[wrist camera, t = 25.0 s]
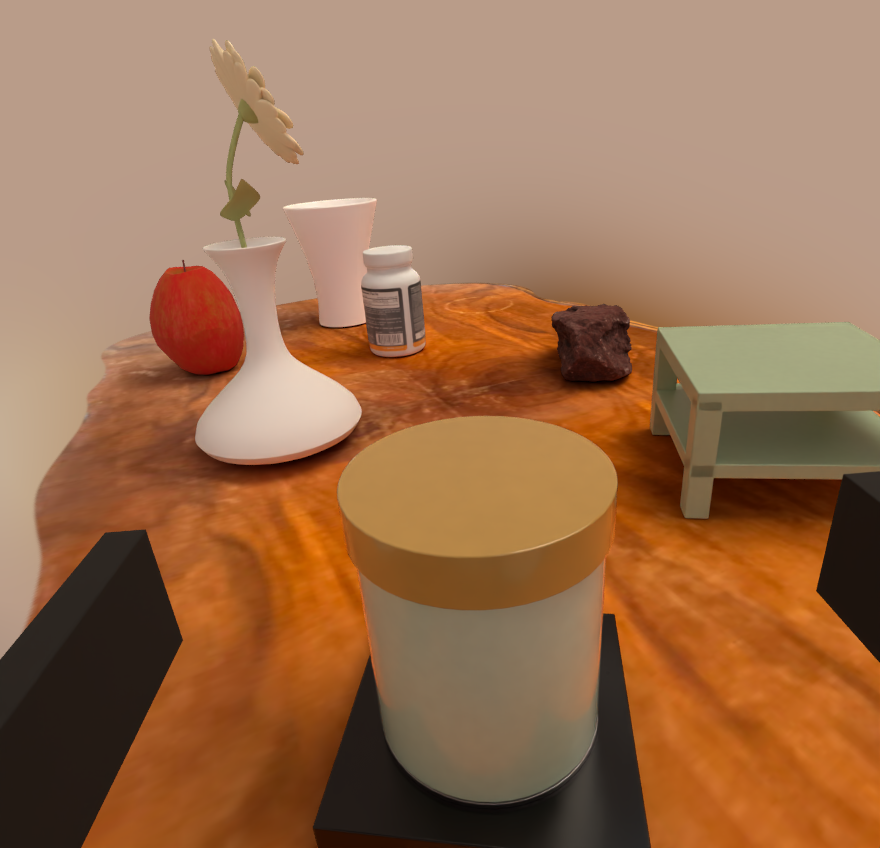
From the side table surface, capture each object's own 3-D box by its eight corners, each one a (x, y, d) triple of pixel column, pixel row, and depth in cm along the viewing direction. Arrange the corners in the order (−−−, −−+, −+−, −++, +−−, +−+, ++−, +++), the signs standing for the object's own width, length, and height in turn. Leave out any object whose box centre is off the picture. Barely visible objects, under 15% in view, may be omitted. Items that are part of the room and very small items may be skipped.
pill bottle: (403, 338, 65) (394, 242, 61) (437, 348, 61) (429, 246, 56) (359, 351, 62) (345, 251, 57) (391, 363, 57) (379, 256, 53)
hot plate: (649, 903, 16) (654, 862, 15) (320, 863, 17) (310, 823, 16) (612, 644, 24) (614, 609, 23) (390, 632, 25) (385, 598, 25)
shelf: (923, 523, 29) (964, 389, 26) (684, 518, 31) (698, 392, 28) (826, 427, 39) (849, 321, 36) (649, 427, 41) (657, 327, 38)
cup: (353, 306, 80) (338, 198, 74) (407, 316, 73) (396, 197, 68) (286, 325, 73) (264, 208, 68) (338, 338, 66) (319, 208, 61)
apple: (146, 382, 58) (112, 268, 53) (205, 355, 64) (179, 252, 60) (215, 388, 55) (185, 267, 50) (269, 358, 62) (247, 250, 57)
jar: (617, 824, 16) (638, 562, 12) (346, 797, 17) (294, 551, 14) (594, 623, 22) (603, 414, 19) (400, 613, 24) (375, 415, 20)
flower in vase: (362, 472, 38) (293, -3, 28) (179, 491, 38) (39, 14, 27) (366, 396, 50) (320, 44, 40) (227, 410, 49) (143, 56, 39)
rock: (579, 371, 59) (510, 380, 56) (576, 306, 58) (505, 311, 55) (665, 374, 49) (588, 385, 46) (663, 296, 48) (584, 302, 45)
